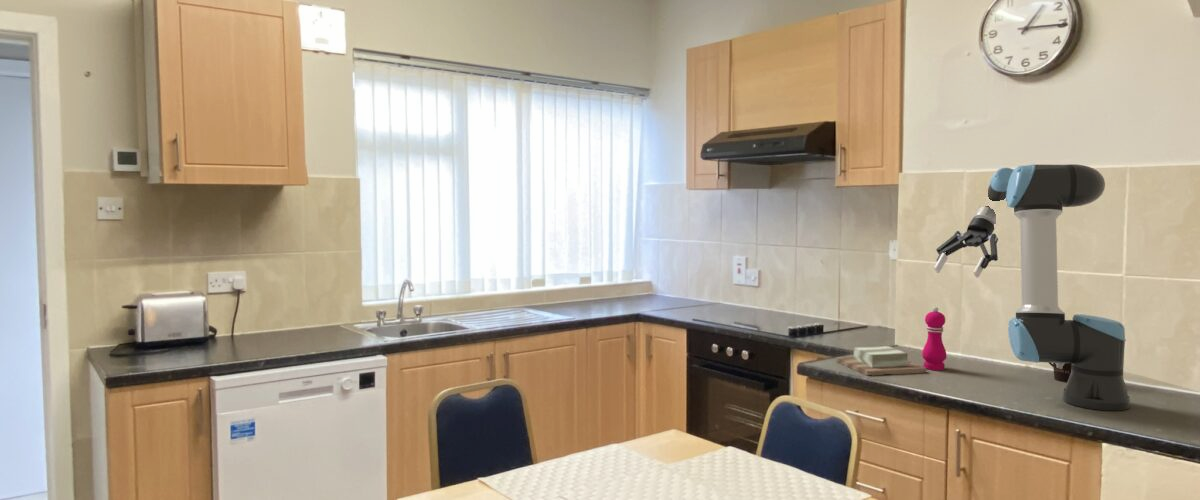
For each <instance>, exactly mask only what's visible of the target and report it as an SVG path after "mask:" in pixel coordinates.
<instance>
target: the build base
mask: <svg viewBox="0 0 1200 500" xmlns="http://www.w3.org/2000/svg"><path fill="white" fill-rule="evenodd" d="M908 354H909V353H907V352H904V351H903V350H899V349H897V348H894V347H892V346H888V345H884V346H883V345H882V346H881V345H880V346H860V347H859V346H857V347H856V346H855V347H853V356H839V357H838V356H837V357H836V363H838V362H840V363H842V364H841V365H843V364H844V365H843V366H845V365H846V366H845V367H847V366H848V367H847V368H849V367H850V369H851V368H852V369H851V370H853V369H854V370H853V371H856V372H858V373H860V372H861V374H862V373H863V374H862V375H864V374H865V375H864V376H866V375H867V377H869V376H868V375H872V376H885V375H884V374H892V375H908V374H909V375H911V374H926V373H927V369H926V368H925V367H923V365H919V364H916V363H914V362H911V361H909V360H908ZM840 363H839V364H840Z"/></svg>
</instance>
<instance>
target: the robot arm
mask: <svg viewBox="0 0 1200 500" xmlns="http://www.w3.org/2000/svg"><path fill="white" fill-rule="evenodd" d="M987 188H988V189H987V190H988V197H989V199H990V200H992V201H1000V200H1004V199H1005V198H1006V201H1007V205H1008V206H1007V208H1011V209H1012V208H1013V215H1014V216H1015V217H1017V219H1019V221H1020V223H1019V224H1020V225H1019V226H1020V227H1019V229H1020V273H1021V274H1020V275H1021V280H1020V281H1021V283H1020V284H1021V285H1020V286H1021V287H1020V288H1021V306H1020V307H1019V308H1018V309H1017V310H1016V311H1015V317H1012V318H1010V319H1009V321H1008V328H1007V333H1008V339H1009V343H1010V348H1011V351H1012V352H1013V355H1014V356H1015V358H1016V359H1018V360H1019V361H1022V362H1029V363H1030V362H1032V363H1036V364H1037V363H1048V364H1049V363H1052V364H1053V363H1071V364H1072V366H1071V374H1070V377H1069V379H1068V382H1066V385H1065V387H1064V388H1063V390H1062V400H1063V401H1064V402H1065V403H1067V404H1070V405H1072V406H1077V407H1079V408H1084V409H1092V410H1098V411H1110V412H1111V411H1113V412H1114V411H1125V410H1128V409H1130V408H1131V407H1130V406H1131V398H1130V396H1129V395H1128V394H1129V393H1128V389H1127V385H1126V383H1125V380H1124V368H1125V367H1124V365H1125V344H1126V341H1127V340H1126V334H1125V333H1126V330H1125V325H1124V324H1122V323H1121V322H1120V321H1117V320H1114V319H1111V318H1106V317H1101V316H1096V315H1091V314H1090V315H1089V314H1088V315H1087V314H1078V313H1077V314H1074V315H1073V316H1072V320H1071V319H1066V313H1065V311H1064V310H1062V309H1061V308H1060V307H1059V293H1058V291H1059V288H1058V287H1059V286H1058V283H1059V282H1058V249H1057V247H1058V245H1057V243H1058V241H1057V219H1058V218H1059V217H1060V216H1061V215H1062V214H1063V208H1072V207H1073V208H1074V207H1081V206H1085V205H1090V204H1091V203H1093V202H1095V201H1096V200H1098V199H1099V198H1100V197H1101V196H1103V193H1104V191H1105V188H1106V182H1105V179H1104V176H1103V174H1102V173H1101V172H1100V171H1098V170H1097V169H1095V168H1093V167H1091V166H1087V165H1083V164H1035V163H1033V164H1026V165H1019V166H1017V167H1015V168H1010V167H1001V168H999V169H997V170H996V171H995V172H994V173H993V175H992V177H991V179H990V182H989V186H988V187H987ZM978 208H979V207H978ZM977 210H978V211H977ZM977 210H976V212H975V213H974V214H973V216H972V219H971V220H970V222H969V223H968V226H967V227H966V229H967V230H966V231H965V232H964V233H963V232H960V231H959V230H957V231H955V233H954V234H953V236H951V237H949V238H948V239H947V240H946V241H945V242H943V243H942V244H940V246H938V247H937V248H936V252H937V253H938V256H937V258H936V260H935V261H936V263H935V264H934V265H933V266H934V267H933V269H934V270H935V272H936V273H938V274H939V273H940V272H941V271H942V269H943V267H944V266H945V264H946V262H947V260H948V256H950V255H952V254H954V253H955V252H957V251H959V250H961V249H963V248H967V247H971V248H972V247H974V248H978V247H980V249H981V251H982V253H983V256H981V257H980V259H979V261H978V262H977V264H976V266H975V268H974V269H973V271H972V272H973V274H974V277H975V278H977V279H978V278H979V277H980V275H981V274H982V272H983V271H984V270H985V269H987V267H988V265H989V263H990V262H992V261H995V262H996V261H998V260H999V257H998V244H997V243H998V241H999V238H998V236H997V235H996V233H993V232H994V231H995V228H994V224H996V214H995V212H994V210H993V209H991V208H990V207H989V206H985V207H981V208H979V209H977ZM986 242H989V245H990V253H989V252H988V250H987V247H986V245H985V243H986Z"/></svg>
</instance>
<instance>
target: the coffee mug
mask: <svg viewBox="0 0 1200 500" xmlns="http://www.w3.org/2000/svg"><path fill="white" fill-rule="evenodd" d="M1048 364H1049V365H1050V366H1051V367H1052V368H1053V377H1054V380H1055V381H1058V382H1061V383H1067V382H1068V379H1069V377H1070V374H1071V366H1072V364H1071V363H1048Z"/></svg>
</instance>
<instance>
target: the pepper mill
mask: <svg viewBox="0 0 1200 500" xmlns="http://www.w3.org/2000/svg"><path fill="white" fill-rule="evenodd" d="M924 322H925V324H926V325H927V326H926V331H927V339H926V342H925V345H924V347H923V348H922V354H921V356H922V358H923V359H924V361H923V365H922V367H925V368H926V370H929V371H944V370H945V366H946V364H945V363H944V362H945V360H947V356H948V355H947V351H946V348H945V345H944V343H943V338H942V335H943V332H944V327H943V326H944V325H945V324H946V317H945V315H944V314H943V313H942V312H940V311H939V307H937V306H934V307H932V311H930V312H928V313H927V314H926V315H925V317H924Z"/></svg>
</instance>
